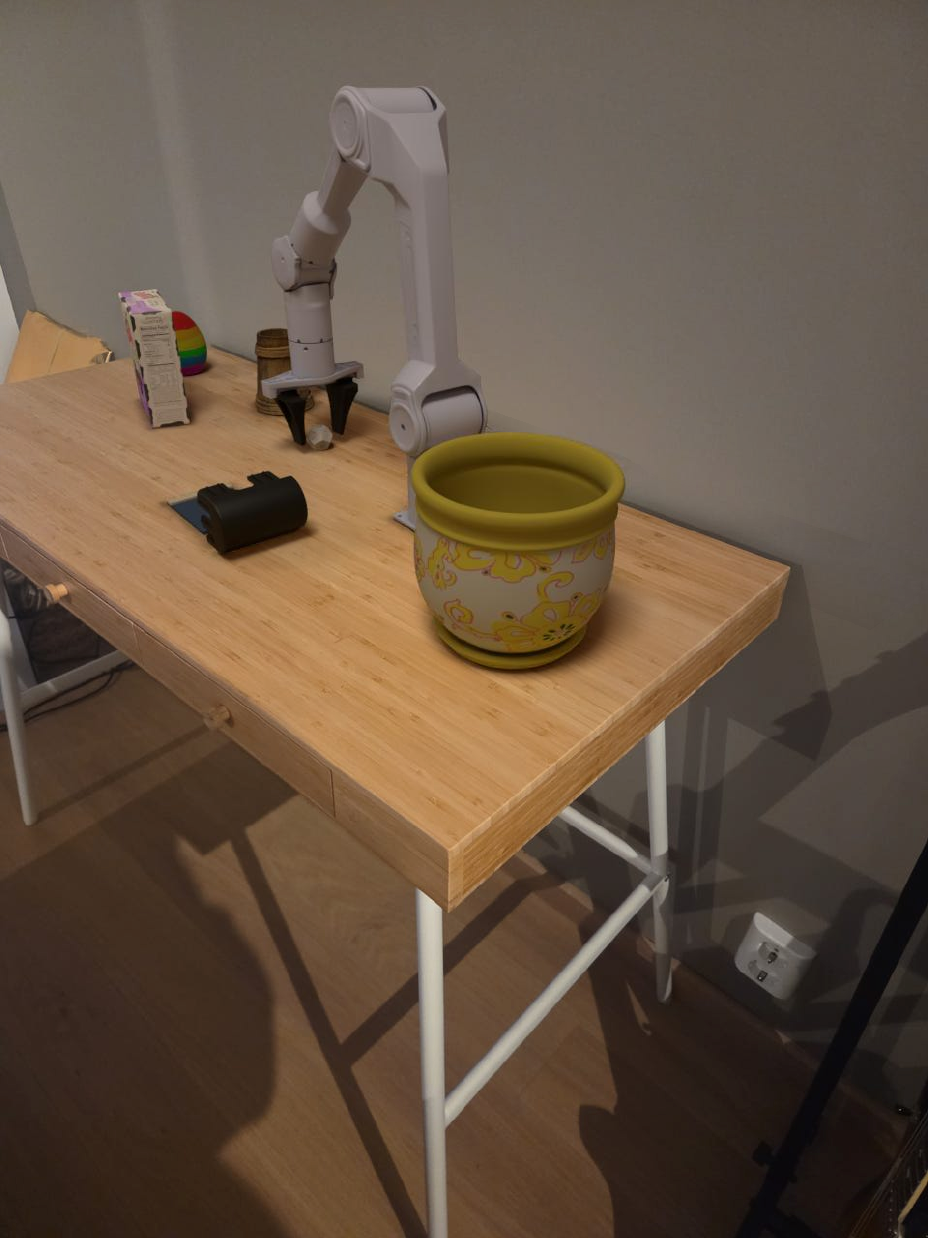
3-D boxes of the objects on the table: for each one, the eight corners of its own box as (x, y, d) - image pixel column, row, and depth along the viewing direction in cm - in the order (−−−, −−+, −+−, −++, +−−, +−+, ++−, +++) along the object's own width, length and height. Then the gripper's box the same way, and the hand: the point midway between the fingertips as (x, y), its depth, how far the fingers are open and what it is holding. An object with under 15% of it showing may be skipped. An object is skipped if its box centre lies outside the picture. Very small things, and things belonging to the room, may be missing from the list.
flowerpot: (641, 628, 79) (667, 468, 70) (524, 718, 68) (537, 541, 59) (497, 564, 89) (503, 416, 80) (374, 633, 78) (365, 471, 69)
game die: (302, 446, 116) (300, 426, 114) (324, 440, 118) (323, 420, 116) (315, 454, 114) (313, 433, 112) (338, 448, 116) (336, 427, 114)
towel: (266, 514, 98) (266, 509, 98) (203, 534, 94) (202, 529, 94) (228, 487, 105) (227, 481, 104) (167, 504, 100) (166, 499, 100)
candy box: (139, 400, 131) (116, 290, 122) (177, 395, 133) (158, 287, 124) (151, 429, 121) (127, 312, 112) (192, 423, 123) (172, 308, 114)
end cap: (229, 566, 88) (219, 509, 84) (201, 541, 93) (190, 485, 89) (311, 539, 93) (306, 484, 89) (281, 516, 98) (274, 463, 94)
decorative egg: (197, 361, 148) (187, 303, 143) (218, 372, 143) (209, 312, 138) (153, 370, 144) (141, 310, 138) (173, 381, 139) (161, 319, 133)
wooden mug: (349, 402, 131) (341, 282, 121) (270, 419, 125) (255, 293, 115) (322, 387, 137) (313, 272, 127) (246, 403, 130) (229, 282, 121)
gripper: (341, 323, 114) (347, 418, 121) (245, 340, 106) (258, 441, 114) (370, 333, 109) (375, 432, 117) (272, 353, 102) (284, 457, 109)
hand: (319, 438), depth 115 cm, fingers open, 6 cm apart
